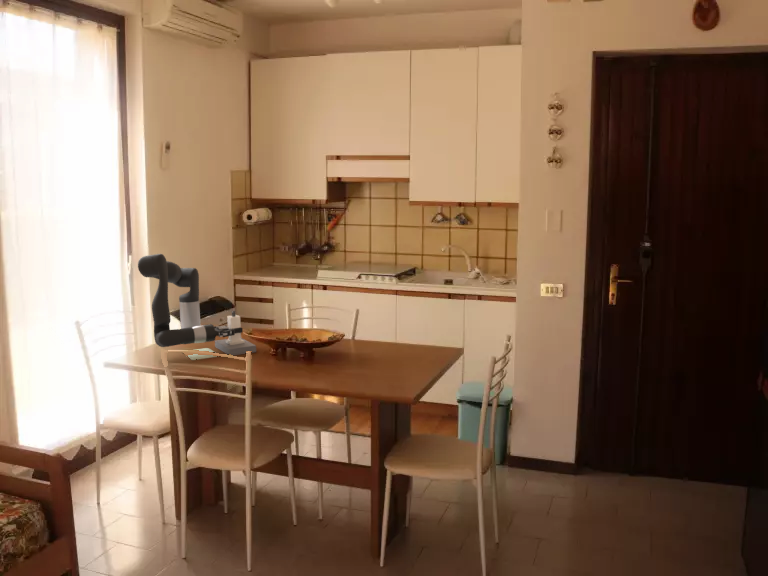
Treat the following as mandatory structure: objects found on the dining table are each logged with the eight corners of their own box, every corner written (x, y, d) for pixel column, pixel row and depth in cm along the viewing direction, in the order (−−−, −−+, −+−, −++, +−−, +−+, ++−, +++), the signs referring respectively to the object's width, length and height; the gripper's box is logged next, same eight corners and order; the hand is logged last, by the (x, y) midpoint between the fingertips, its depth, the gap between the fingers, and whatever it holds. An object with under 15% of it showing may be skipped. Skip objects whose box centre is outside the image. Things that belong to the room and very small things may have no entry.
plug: (225, 349, 347) (223, 310, 345) (239, 347, 351) (238, 309, 348) (230, 352, 342) (228, 312, 339) (245, 349, 345) (243, 311, 342)
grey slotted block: (215, 347, 352) (214, 338, 351) (240, 343, 358) (240, 335, 357) (229, 355, 335) (229, 347, 334) (256, 352, 341) (255, 343, 340)
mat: (181, 352, 342) (181, 351, 342) (207, 349, 348) (207, 347, 348) (192, 360, 328) (191, 358, 328) (219, 356, 334) (219, 354, 334)
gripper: (207, 328, 331) (245, 323, 340) (197, 322, 343) (234, 318, 352) (208, 345, 332) (246, 340, 341) (198, 339, 344) (235, 334, 353)
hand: (240, 328), depth 346 cm, fingers closed on plug, 4 cm apart
